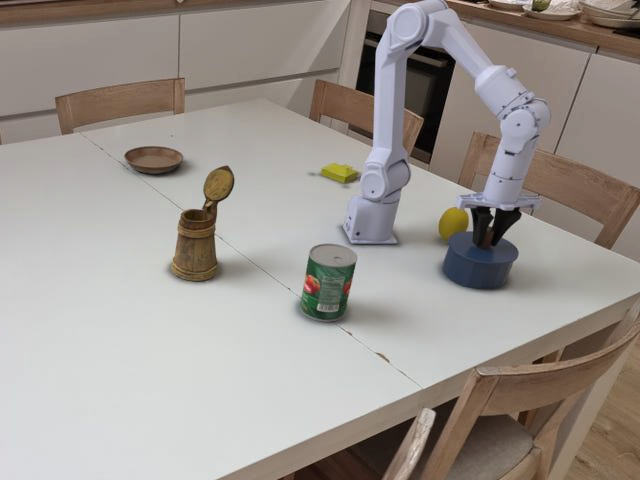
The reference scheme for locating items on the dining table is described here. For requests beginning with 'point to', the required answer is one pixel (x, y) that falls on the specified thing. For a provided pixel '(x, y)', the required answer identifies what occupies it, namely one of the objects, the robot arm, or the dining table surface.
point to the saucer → (153, 159)
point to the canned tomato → (327, 282)
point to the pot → (474, 272)
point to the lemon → (453, 222)
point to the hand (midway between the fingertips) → (483, 243)
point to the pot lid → (483, 248)
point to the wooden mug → (201, 230)
